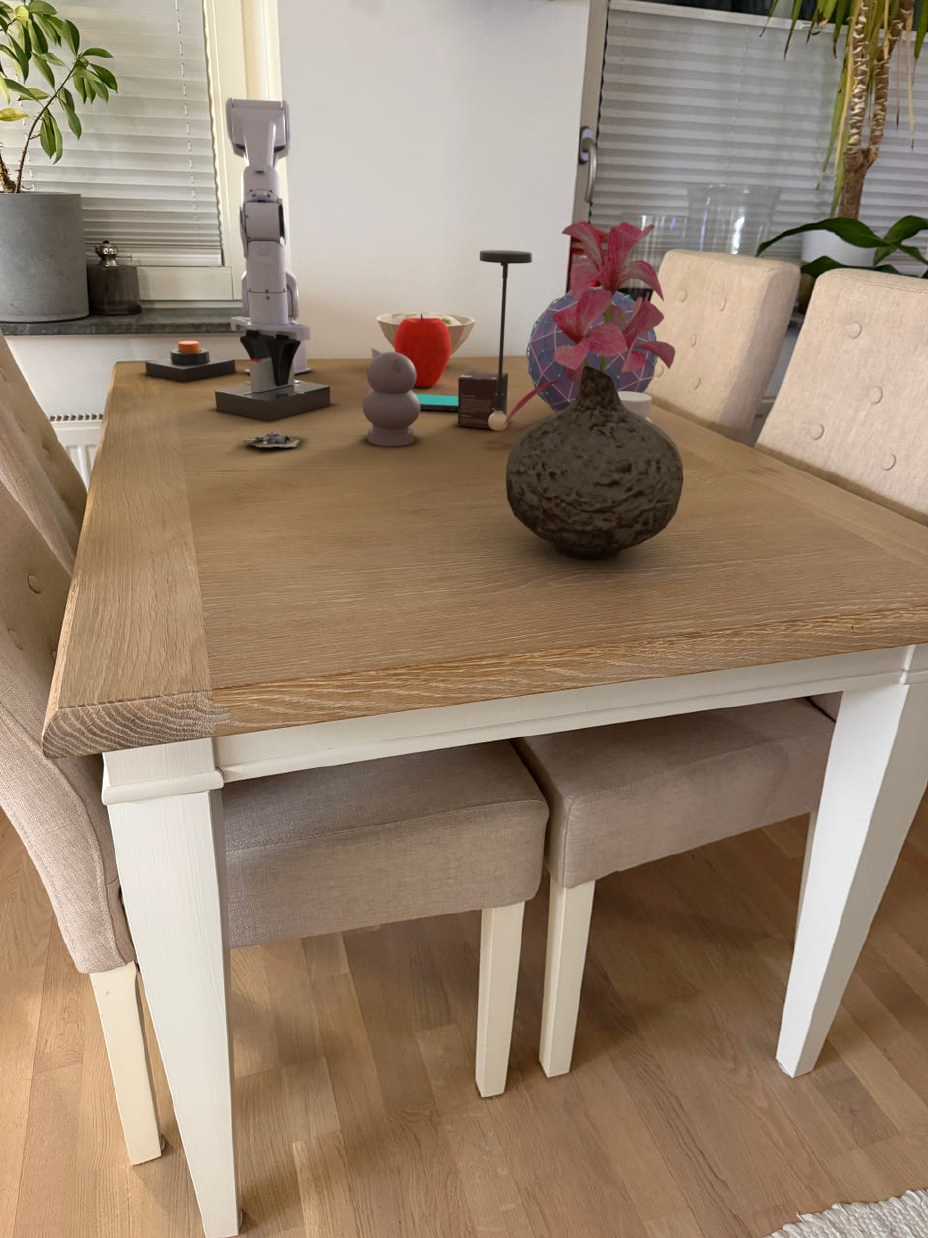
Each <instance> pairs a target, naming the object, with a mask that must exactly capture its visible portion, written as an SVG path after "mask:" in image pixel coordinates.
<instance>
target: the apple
mask: <svg viewBox="0 0 928 1238" xmlns="http://www.w3.org/2000/svg"><path fill="white" fill-rule="evenodd" d="M394 345H395V349H394V352H397V353H400V354H402V355H404V356H406V357H407V358H409V359H410V361H411V362H412V363H413V365H414V367H415V370H416V382H415V384H414V386H413V387H415V388H431V387H433V386H435V385H436V384H437V383H438V381H440V379H441V377H442V375H443V374H444V372H445V370H446V368H447V366H448V363H449V361H450V358H451V356H450V354H451V341H450V335H449V331H448V329H447V327H446V324H445V323H444V322H442V321H441V320H440V319H439V318H423V317H422V314H421V318H406V319H404V320H403V321H402V322H401V323H400V325H399V327H398V329H397V332H396V336H395V340H394Z"/></svg>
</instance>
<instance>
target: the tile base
mask: <svg viewBox="0 0 928 1238" xmlns="http://www.w3.org/2000/svg"><path fill="white" fill-rule="evenodd" d="M294 381H295V384H294V385H290V386H286V387H281V388H277V389H273V390H268V391H264V392H259V393H258V392H253V391H251V381H250V382H249V381H244V383H243V384H240V385H235V386H234V385H233V386H230V387H224V388H220V389H216V390H214V397H215V408H216V411H219V412H223V413H229V414H232V415H238V416H242V417H246V418H251V419H256V420H261V421H266V422H271V421H275V420H278V419H282V418H286V417H287V418H288V417H290V416H294V415H298V414H301V413H305V412H308V411H312V410H316V409H320V408H324V407H328V406H331V386H330V385H326V384H321V383H315V382H310V381H304V380H299V379H294Z"/></svg>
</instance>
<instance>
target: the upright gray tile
mask: <svg viewBox="0 0 928 1238" xmlns="http://www.w3.org/2000/svg"><path fill="white" fill-rule="evenodd" d="M248 363H249V365H248V366H249V369H250V373H249V377H250V379H249V380H250V383H251V391H253V392H258V393H259V392H264V391H268V390H273V389H277V388H281V387H286V386H290V385H294V384H295V381H294V380H295V374H294V363H293V362H292V365H291V370H290V375H289V380H288V385H284V386H276V385H275V381H274V374H273V365H272V360H271V357H269V358H264V359H250V360H249V361H248Z"/></svg>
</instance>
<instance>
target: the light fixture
mask: <svg viewBox="0 0 928 1238" xmlns="http://www.w3.org/2000/svg"><path fill="white" fill-rule="evenodd" d="M479 261H480V262H486V263H492V264H493V263H494V264H500V266H501V267H502V286H501V287H502V288H501V309H500V311H501V312H500V330H499V333H500V335H499V352H498V372H497V373H498V388H497V393H496V394H495V400H494V408H492V410H494V413H493V414H491V415H490V417H489V419H488V423H489V426H490V428H491V429H490V430H493V431H495V432H501V431H504V430H505V429H507V426H508V424H509V420H508V421H507V423H506V424H505V425H504V423H505V421H506V420H507V418H508V416H507V414H506V415H505V414H503V411H504V410H505V409H504V407H503V403H504V394H502V373H503V369H504V368H503V367H504V347H505V346H504V345H505V325H506V307H507V306H506V305H507V303H506V302H507V284H508V283H507V282H508V276H509V274H508V273H509V265H511V264H516V265H517V264H518V265H519V264H531V263H532V262H533V252H529V251H521V250H504V249H503V250H501V249H488V250H487V249H486V250H484V249H483V250H480V251H479ZM503 425H504V426H503Z"/></svg>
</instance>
